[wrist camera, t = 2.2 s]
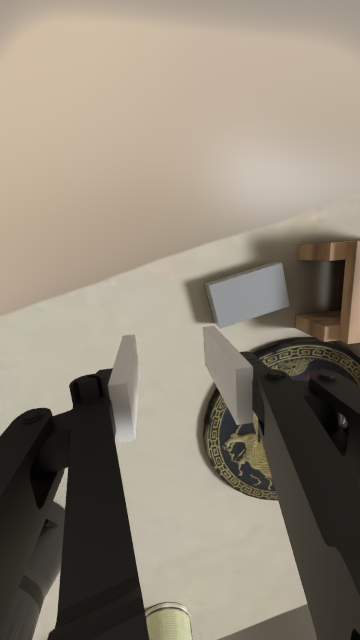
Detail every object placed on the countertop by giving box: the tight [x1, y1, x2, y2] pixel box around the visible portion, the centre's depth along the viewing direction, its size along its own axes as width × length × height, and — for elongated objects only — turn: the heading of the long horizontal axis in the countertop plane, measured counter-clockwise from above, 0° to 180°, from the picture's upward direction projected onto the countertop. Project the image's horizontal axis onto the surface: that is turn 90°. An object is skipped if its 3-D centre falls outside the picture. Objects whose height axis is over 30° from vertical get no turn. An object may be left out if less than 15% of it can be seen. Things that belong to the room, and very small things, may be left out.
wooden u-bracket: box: [295, 240, 360, 344], centre depth 34 cm, size 11×12×8 cm
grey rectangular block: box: [205, 262, 290, 328], centre depth 35 cm, size 10×6×3 cm, turn 106°
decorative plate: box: [203, 338, 360, 500], centre depth 42 cm, size 30×2×30 cm
